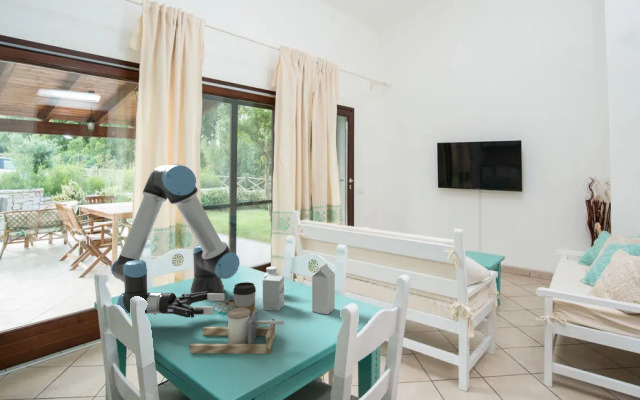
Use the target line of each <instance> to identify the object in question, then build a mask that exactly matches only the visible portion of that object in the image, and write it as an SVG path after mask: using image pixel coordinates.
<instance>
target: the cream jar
mask: <svg viewBox="0 0 640 400" xmlns="http://www.w3.org/2000/svg"><path fill="white" fill-rule="evenodd" d="M226 313H227V315H226V316H227V322H228V323H227V327H228V335H227V337H228V338H227V339H228V344H248V321H249V319H250V309H248V308H235V307H234V308H231V309H229V310H228V311H227V312H226Z"/></svg>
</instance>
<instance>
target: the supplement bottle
mask: <svg viewBox="0 0 640 400" xmlns="http://www.w3.org/2000/svg"><path fill="white" fill-rule="evenodd" d="M263 275H264V276H263V277H264V279H265V278H266V277H267V276H280V274H279V273H278V272H277V266H267V267H266V272H265V273H264V274H263ZM264 279H263V280H264Z"/></svg>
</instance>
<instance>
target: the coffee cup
mask: <svg viewBox="0 0 640 400" xmlns="http://www.w3.org/2000/svg"><path fill="white" fill-rule="evenodd" d="M232 289H233V291H232V293H233V302H234V308H248V309H250V317H251V315H252V313H253V311H254V310H256V309H255V308H256V291H257V287H256V286H255V284H254V282H247V281H245V282H239V283H236V284H234V287H233V288H232Z"/></svg>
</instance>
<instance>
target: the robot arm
mask: <svg viewBox="0 0 640 400" xmlns="http://www.w3.org/2000/svg"><path fill="white" fill-rule="evenodd" d="M196 185H197V176H196V175H195V173H194V171H193V170H191V169H190V168H189V166H188V167H187V166H186V165H182V164H170V165H169V164H164V165H160V166H157V167H156V168H155V169H153V170H152V172H150V174H149V177H148V179H147V180H146V183H145V185H144V188H143V191H142V195H143V197H142V199H141V202H140V205H139V207H138V209H137V212H136V215H135V218H134V219H133V222H132V224H131V227H130V230H129V232H128V234H127V236H126V239H125V242H124V244H123V246H122V249H121V251H120V252H119V253H120V254H119V255H118V258H117V259H116V260H114V262H113V263H112V264H111V265H110V272H111V275H113V276H114V277H115V278H116V279H117V280H119V281H121V282H123V283H124V285H123V286H124V292H122V293H121V294H120V295H118V296H119V297H118V298H117V303H116V306H117V305H120V306H121V307H122V308H123V309H124V310H125V312H126V313H125V314H130V299H131V298H132V297H134V296H140V297H142V298H144V299H145V300H146V301H147V303H148V305H147V308H146V310H145V313H144V314H148V315H149V314H153V315H157V314H162V315H164V314H165V315H166V314H167V315H170V314H171V315H176V316H180V317H184V318H187V319H189V318H194V317H195V316H200V315H201V316H213V315H215V313H214V311H215V309H214V306H203V305H202V306H198V305H197V306H194V307H193V306H192V304H194V303H195V304H196V303H198V302H203V301H207V302H209V301H211V302H213V301H215V302H224V301H225V293H224V292H225V289H224V288H225V285H224V284H223V280H224V279H225V280H227V279H230V278H232V277H233V276H235V274H236V273H237V272H238V271H239V267H240V257H239V256H238V255H237V254H236V253H235V252H232V251H231V250H230V248H229V245H228V243H227V242H225V241H222V240H221V238H220V236H219V235H218V233H217V231H216V229H215V227H214V226H213V224H212V222H211V219H210V217H209V216H208V214H207V212H206V211H205V209H204V206H203V205H202V203H201V202H200V200H199V198H198V196H197V195H198V192H199V190H198V188H197V186H196ZM167 200H168V201H169V203H170V204H171V205H175V206H176V207H177V209H178V210H179V212H180V214H181V215H182V218H183V219H184V221H185V222H186V225H187V226H188V228H189V230H190V231H191V233H192V234H193V237H194V239H195V240H196V241H197V243H198V245H195V246H194V247H193V251H192V255H193V280H192V283H191V287H190V290H189V291H190V293H182V294H181V295H180V296H179V297H177V295H176V294H175V293H174V292H148V269H147V262H146V261H145V260H140V259H141V257H142V254H143V253H144V250H145V247H146V245H147V243H148V239H149V237H150V235H151V232H152V229H154V228H153V227H154V225H155V222H156V220H157V217H158V214H159V212H160V210H161V208H162V205H163V203H164V202H166V201H167ZM222 279H223V280H222ZM130 315H131V314H130Z"/></svg>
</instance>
